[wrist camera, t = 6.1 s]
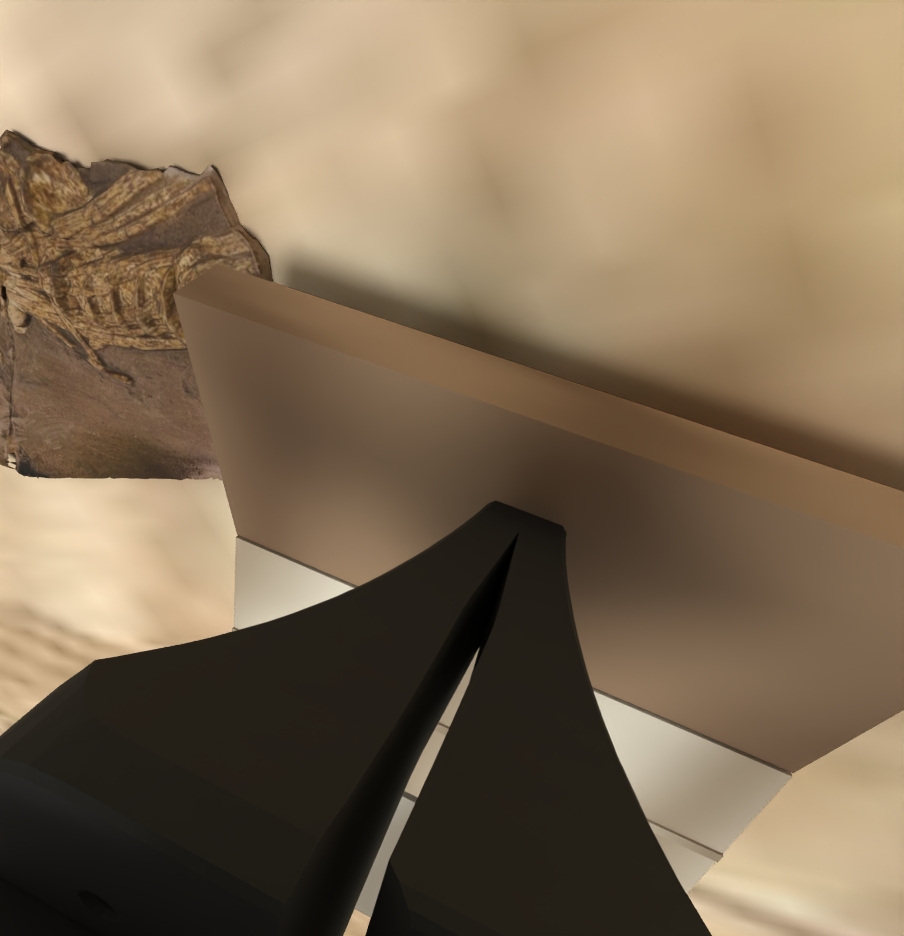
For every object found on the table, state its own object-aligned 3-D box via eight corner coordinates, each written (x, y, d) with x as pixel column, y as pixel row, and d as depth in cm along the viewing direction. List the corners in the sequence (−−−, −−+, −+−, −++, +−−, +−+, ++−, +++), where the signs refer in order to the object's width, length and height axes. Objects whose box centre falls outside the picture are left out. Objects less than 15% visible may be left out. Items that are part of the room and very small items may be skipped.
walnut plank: (264, 502, 16) (237, 534, 15) (217, 264, 11) (172, 293, 10) (793, 720, 14) (793, 772, 13) (1052, 541, 8) (1079, 609, 8)
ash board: (784, 731, 14) (792, 779, 13) (665, 875, 17) (664, 922, 16) (263, 514, 16) (234, 538, 15) (255, 678, 20) (230, 707, 19)
